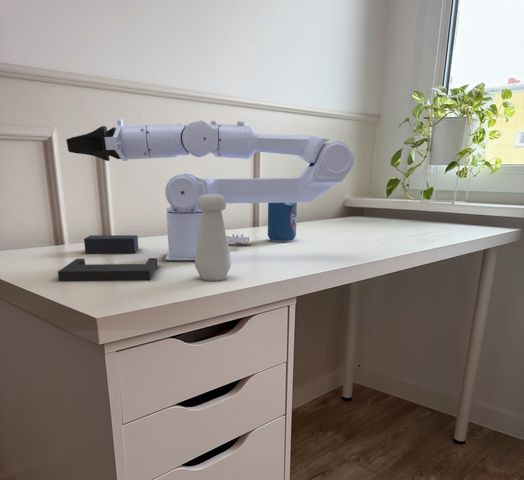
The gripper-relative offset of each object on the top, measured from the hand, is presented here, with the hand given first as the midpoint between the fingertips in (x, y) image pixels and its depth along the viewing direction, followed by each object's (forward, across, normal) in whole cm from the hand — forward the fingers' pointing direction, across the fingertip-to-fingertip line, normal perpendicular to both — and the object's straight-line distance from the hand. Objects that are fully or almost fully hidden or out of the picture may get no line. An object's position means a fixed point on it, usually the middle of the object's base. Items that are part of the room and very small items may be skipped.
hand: (74, 145), depth 94 cm
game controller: (-28, -14, +23) cm, 39 cm away
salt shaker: (-24, +21, +21) cm, 38 cm away
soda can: (-40, -25, +24) cm, 52 cm away
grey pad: (-2, -7, +21) cm, 22 cm away
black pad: (-7, +16, +20) cm, 27 cm away
